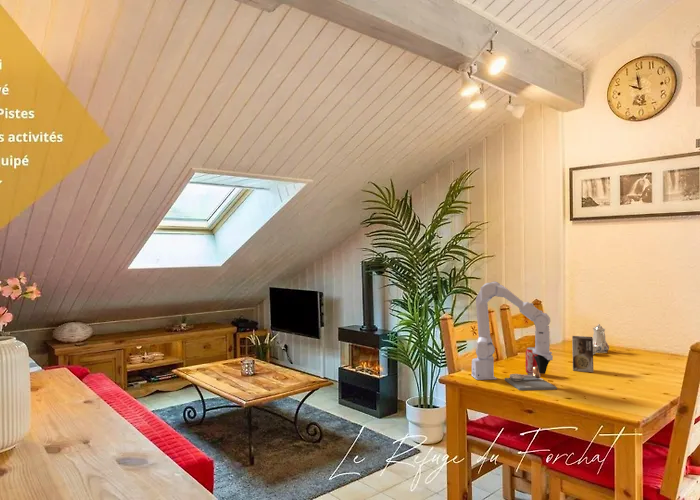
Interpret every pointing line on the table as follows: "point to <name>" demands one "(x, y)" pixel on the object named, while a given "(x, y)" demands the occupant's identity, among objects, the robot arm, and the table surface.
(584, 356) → the coffee box
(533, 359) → the soda can
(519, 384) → the base plate
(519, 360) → the table surface
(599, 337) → the chinaware
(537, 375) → the crank handle
